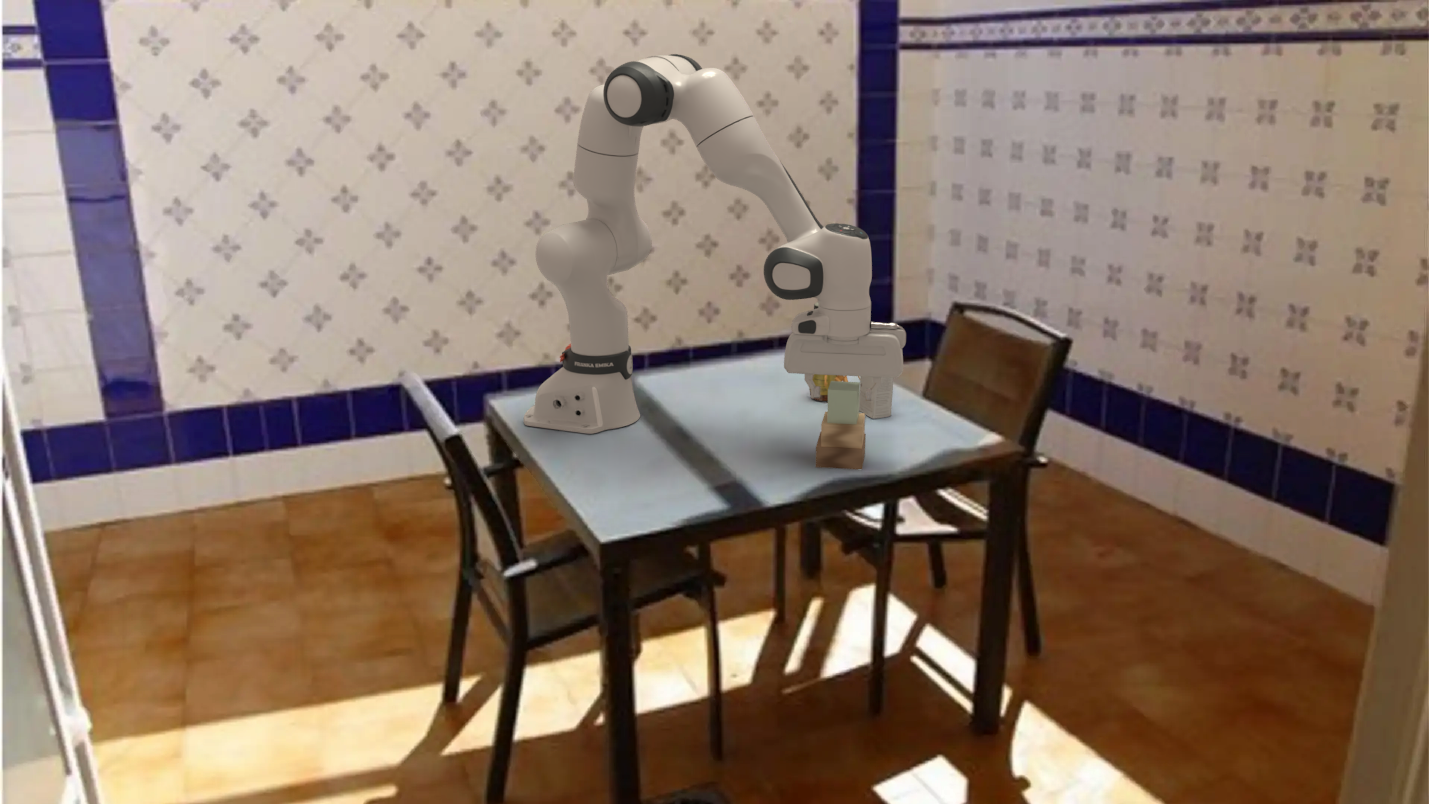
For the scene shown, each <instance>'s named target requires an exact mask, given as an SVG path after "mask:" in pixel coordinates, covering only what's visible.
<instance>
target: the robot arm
mask: <svg viewBox="0 0 1429 804" xmlns="http://www.w3.org/2000/svg"><path fill="white" fill-rule="evenodd" d="M671 120H676V121H678V122H680V123H681V124H682V125H683V126H684V127H685V128H686V130H687V132H688V133H689V135H690V137H691V139H692V141H693V143H694V145H695V147H696V148H697V151H698V153H699V155H700V157H701V158H702V160H703V162H704V165H706V167H707V168H708V170H709V171H710V172H711V173H712V174H713V176H714V177H715V178H716V179H717V180H719V181H720V182H722V183H723V184H726V185H729V186H733V187H736V188H739V189H743V190H745V191H748V192H750V193H751V194H752V195H755V197H756V196H757V198H759V199H760V200H761V201H762V202H763V203H764V205H765V206H766V208H767V209H768V211H769V213H770V214H771V216H772V217H773V219H774V221H775V222H776V224H777V226H778V227H779V229H780V230H781V232H782V234H783V235H784V236H785V237H784V238H785V239H786V241H787V242H786V243H784V244H782V245H780V246H778V247H777V248H774V250H772V251H771V252H770V253H769V254H768V255H767V257H766V259H765V261H764V265H763V277H764V280H765V283H766V286H767V287H768V289H769V290H770V292H771V293H772V294H774V296H776V297H778V298H780V299H783V300H787V301H791V300H792V301H797V300H798V301H799V300H805V299H807V300H808V299H811V298H815V299H817V302H818V308H817V309H814V308H813V309H811V310H807V311H803V312H799V313H798V314H797V315H795V316H794V318H793V319H792V322H791V333H790V334H789V337H788V339H787V342H786V345H785V351H784V358H783V359H784V360H783V368H784V369H785V371H786V372H787V373H788V374H799V375H800V374H801V375H804V382H805V383H806V384H807V386H808V389H809V388H810V389H811V396H810V399H813V398H818V399H819V398H820V387H819V386H815V384H814V382H813V380H812V379H813V377H814V374H819V375H841V376H847V377H858V376H859V377H860V376H864V377H873V383H875V384H874V385H873V387H872V388H871V389H866V401H874V400H875V392H876V390H877V388H878V387H879V385H880V384H881V381H882V377H886V378H893V379H897V378H899V377H900V376H901V375H902V374H903V372H904V356H903V354H904V353H903V348H904V347H905V346H906V343H907V332H906V330H905V328H903V326H901V325H898V323H897V322H888V323H887V322H878V321H877V322H875V321H871V317H872V316H871V315H872V313H871V311H872V301H871V297H870V287H871V282H872V277H873V271H872V270H873V266H872V265H873V262H872V247H871V241H870V239H869V238H870V237H869V235H868V234H867V233H866V231H865V230H864V229H862V228H860V227H858V226H855V225H852V224H848V223H837V222H835V223H830V224H826V225H823V224H821V223H820V221H819V220H818V218H817V217H816V215H815V214H814V212H813V211H812V209H811V207H810V205H809V204H808V202H807V201H806V199H805V198H804V196H803V194H802V193H801V191H800V189H799V187H798V186H797V184H796V183H795V181H794V180H793V177H792V176H791V175H790V173H789V171H788V170H787V169H786V167H785V166H784V164H783V163H782V162H781V160H780V158H779V157H778V156H777V154H776V152H775V151H774V149H773V148H772V146H771V144H770V143H769V141H768V139H767V136H766V135H765V134H764V132H763V130H762V128H761V126H760V124H759V122H758V120H757V118H756V117H755V115H754V113H753V111H752V109H751V107H750V105H749V104H748V102H747V101H746V99H745V98H744V96H743V95H742V93H741V91H740V89H738V87H737V86H736V85H735V83H734V81H733V80H732V79H731V78H730V76H728V74H727V73H726V72H725V71H724V70H722V69H721V68H716V67H706V68H705V67H704V68H702V66H701V65H700V64H699V63H698V62H697V61H696V60H695V59H693V58H692V57H689V56H687V55H682V54H677V53H674V54H673V53H672V54H664V55H651V56H648V57H645V58H641V59H638V60H636V61H634V60H633V61H627V62H625V63H623V64H621V65H619V66H617V67H616V68H615V69H613V70H612V72H611V73H609V74H608V76H607V78H606V79H605V82H604V84H600V85H598V86H596V87H594V88H592V90H591V91H590V92H589V94H588V96H587V99H586V102H585V105H584V107H583V112H582V116H581V120H580V125H579V130H578V137H577V143H576V151H575V152H576V153H575V161H574V170H573V171H574V172H573V179H572V180H573V181H572V182H573V186H574V188H575V190H576V191H577V192H578V193H579V194H580V196H581V197H583V198H584V199H586V201H587V208H588V210H587V217H586V219H583V220H579V221H574V222H569V223H565V224H561V225H559V226H556V227H555V228H553V229H551V230H549V231H548V232H545V233H544V234H543V235H541V236H540V237H539V239H538V241H537V243H536V247H535V260H536V261H535V262H536V265H537V267H538V270H539V272H540V273H541V275H542V276H543V277H544V278H545V279H546V280H547V281H549V282H550V283H552V284H553V285H554V286H555V287H556V288H557V290H558V291H559V294H561V297H562V299H563V301H564V304H565V307H566V311H567V314H568V315H567V316H568V326H569V337H570V343H569V344H568V345H567V346H566V347H565V349H564V351H562V352H561V355H559V363H562V367H561V368H559V369H558V370H557V371H556V372H554V373H553V374H552V375H550V377H548V378H547V379H546V380H544V381H543V383H541V384H540V386H539V387H538V389H537V391H536V394H535V398H534V404H533V405H532V406H531V407H530V408H528V409H527V410H526V412H525V413H524V415H523V424H524V425H525V426H528V427H535V428H542V429H549V430H556V431H558V430H559V431H566V432H572V433H579V434H580V433H581V434H589V435H591V434H593V435H594V434H596V433H600V432H603V431H606V430H612V429H613V430H614V429H618V428H622V427H625V426H629V425H632V424H633V423H636V422H637V421H638V420H639V419H640V418H641V414H640V411H639V408H638V404H637V402H636V398H635V393H634V392H635V391H634V387H633V380H632V375H633V370H634V369H633V365H634V364H633V355H632V348H631V346H630V344H629V343H630V341H629V322H628V321H629V320H628V319H629V318H628V317H629V315H628V309H627V307H626V305H625V304H624V303H623V301H621V300H619V299H618V298H616V297H614V296H613V295H612V293H611V290H610V287H609V283H608V276H609V275H614V274H618V273H619V274H620V273H622V272H625V271H628V270H631V269H632V268H635V267H636V266H637V265H640V263H642V262H644V261H645V260H647V258H648V257H649V256H650V253H651V250H652V247H653V246H652V245H653V239H652V233H651V231H650V228H649V226H648V224H647V222H645V221H644V220H643V219H642V217H640V215H639V213H638V210H637V206H636V201H635V200H636V199H635V185H636V177H637V176H636V175H637V167H638V166H637V165H638V159H639V154H640V153H639V151H640V145H641V144H640V141H641V136H642V131H643V129H644V127H646V126H650V125H657V124H663V123H666V122H669V121H671Z"/></svg>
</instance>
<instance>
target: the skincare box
mask: <svg viewBox="0 0 1429 804" xmlns="http://www.w3.org/2000/svg"><path fill="white" fill-rule="evenodd" d="M859 377H860V380H859V382H860V393H859V412H860V413H865V416H867V417H869V418H870V419H883V418H887V417H891V416H892V405H893V394H894V393H893V392H894V391H893V390H894V378H886V377H882V381H881V384H880V385H879V387H878V388H877V390H876V392H875V400H874V401H866V389H871V388H872V387H873V385H874V384H875V383H873V377H864V376H859Z"/></svg>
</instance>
